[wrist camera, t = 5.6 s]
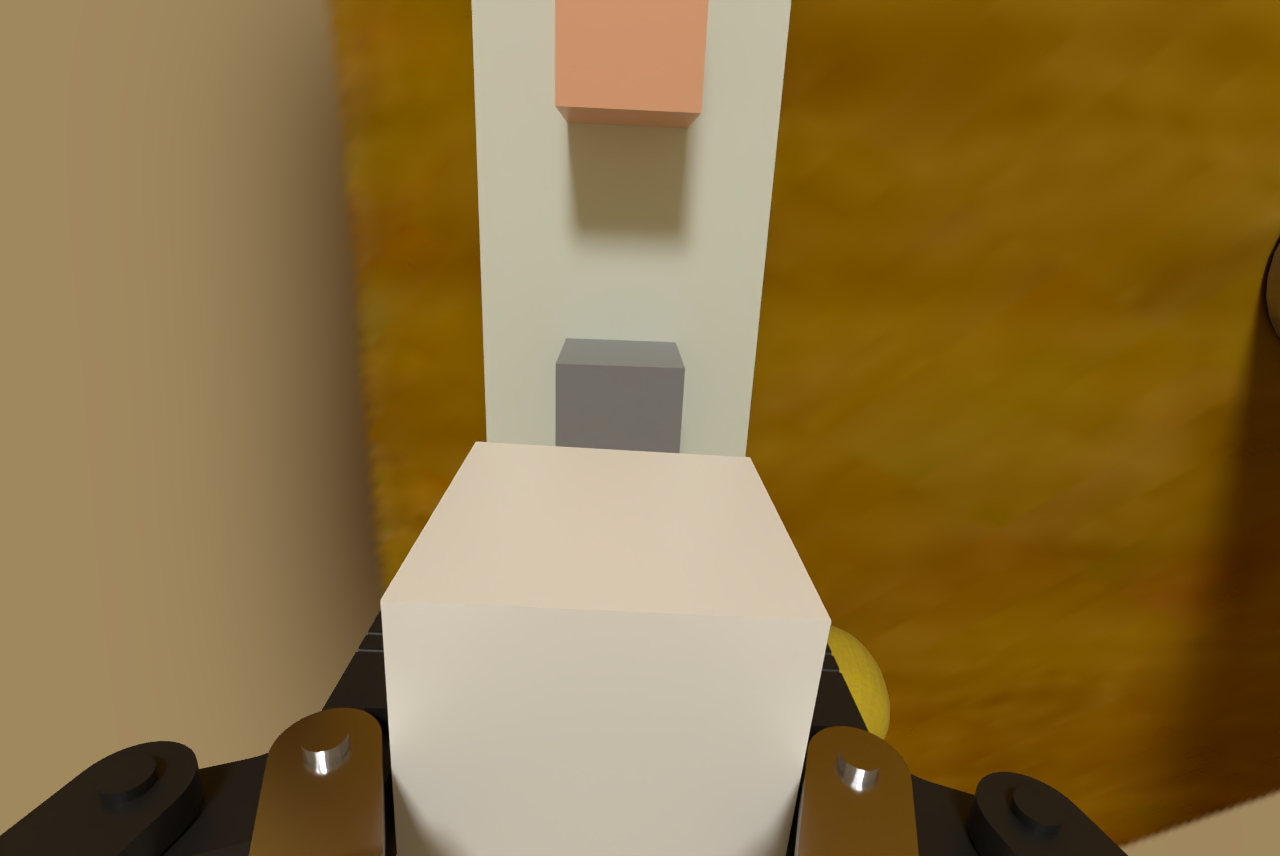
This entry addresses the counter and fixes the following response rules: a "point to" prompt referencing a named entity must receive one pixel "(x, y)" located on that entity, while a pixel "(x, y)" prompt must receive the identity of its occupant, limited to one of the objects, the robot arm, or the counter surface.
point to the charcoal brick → (619, 395)
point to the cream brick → (600, 660)
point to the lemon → (862, 680)
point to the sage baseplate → (624, 221)
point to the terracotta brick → (630, 61)
